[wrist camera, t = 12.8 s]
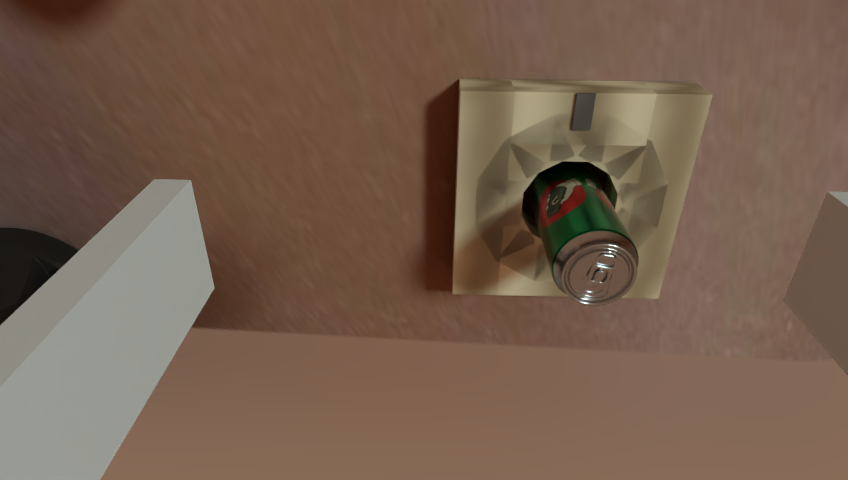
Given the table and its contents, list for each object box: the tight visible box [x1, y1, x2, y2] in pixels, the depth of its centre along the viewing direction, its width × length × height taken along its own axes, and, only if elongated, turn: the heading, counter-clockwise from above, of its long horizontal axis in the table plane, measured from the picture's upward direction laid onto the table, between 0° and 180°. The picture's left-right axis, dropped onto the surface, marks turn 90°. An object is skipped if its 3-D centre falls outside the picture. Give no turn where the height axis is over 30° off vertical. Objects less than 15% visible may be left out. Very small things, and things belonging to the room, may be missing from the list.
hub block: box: [452, 79, 713, 299], centre depth 41 cm, size 16×16×3 cm
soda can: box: [529, 161, 639, 306], centre depth 38 cm, size 5×5×12 cm
